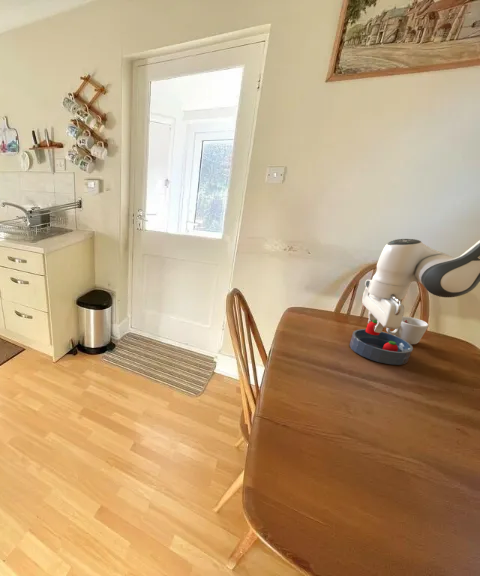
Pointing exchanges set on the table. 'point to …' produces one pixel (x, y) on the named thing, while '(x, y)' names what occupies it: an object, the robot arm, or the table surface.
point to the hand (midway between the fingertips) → (373, 328)
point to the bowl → (380, 347)
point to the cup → (410, 330)
